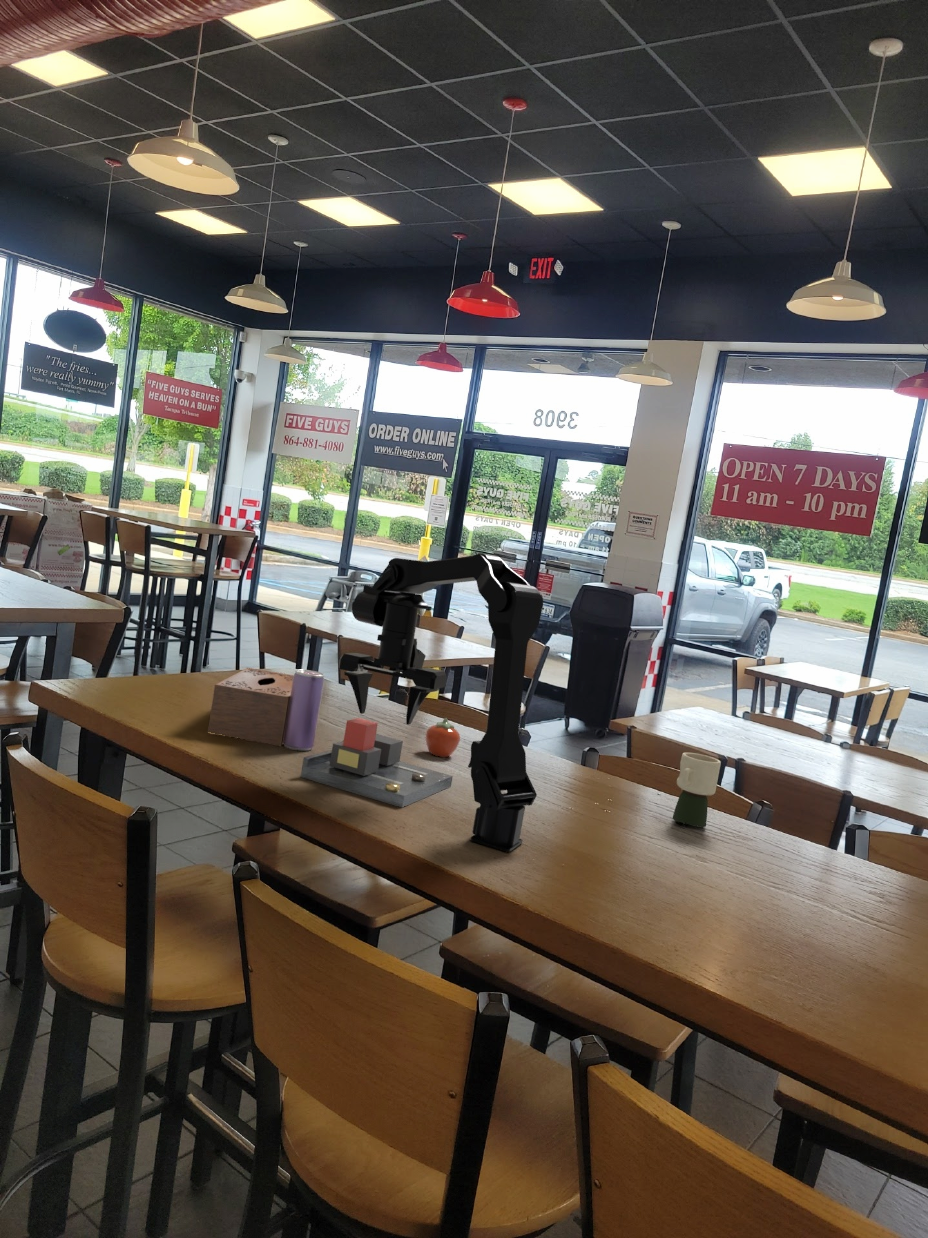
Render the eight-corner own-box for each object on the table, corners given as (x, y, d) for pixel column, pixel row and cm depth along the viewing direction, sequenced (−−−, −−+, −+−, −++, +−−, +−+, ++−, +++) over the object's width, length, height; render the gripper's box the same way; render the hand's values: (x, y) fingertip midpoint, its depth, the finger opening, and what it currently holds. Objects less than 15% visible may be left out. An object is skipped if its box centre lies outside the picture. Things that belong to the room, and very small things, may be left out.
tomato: (450, 751, 194) (456, 716, 193) (461, 761, 187) (467, 724, 186) (418, 748, 191) (424, 712, 191) (427, 758, 184) (434, 720, 184)
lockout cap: (373, 748, 158) (377, 723, 158) (362, 751, 154) (366, 725, 154) (354, 742, 159) (358, 718, 159) (342, 745, 156) (346, 720, 155)
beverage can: (306, 753, 171) (318, 677, 170) (277, 747, 172) (289, 671, 171) (317, 747, 177) (329, 673, 176) (289, 741, 178) (301, 668, 177)
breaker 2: (399, 761, 168) (402, 741, 167) (387, 765, 163) (390, 744, 163) (367, 752, 170) (370, 732, 170) (354, 756, 166) (357, 735, 165)
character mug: (685, 815, 174) (697, 750, 173) (719, 827, 169) (732, 761, 168) (657, 822, 165) (670, 753, 164) (692, 834, 161) (705, 764, 160)
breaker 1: (377, 771, 158) (381, 749, 158) (363, 776, 153) (367, 753, 153) (343, 761, 161) (347, 740, 161) (328, 766, 156) (332, 743, 156)
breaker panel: (450, 786, 165) (454, 768, 165) (402, 807, 147) (405, 787, 147) (357, 760, 173) (360, 742, 173) (300, 777, 154) (303, 757, 154)
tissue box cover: (240, 711, 199) (247, 667, 198) (304, 722, 199) (311, 678, 199) (207, 734, 174) (214, 684, 173) (280, 747, 174) (288, 697, 173)
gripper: (464, 639, 159) (451, 725, 160) (373, 622, 166) (360, 704, 167) (440, 640, 149) (425, 732, 150) (343, 622, 156) (330, 709, 157)
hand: (385, 718), depth 156 cm, fingers open, 9 cm apart
